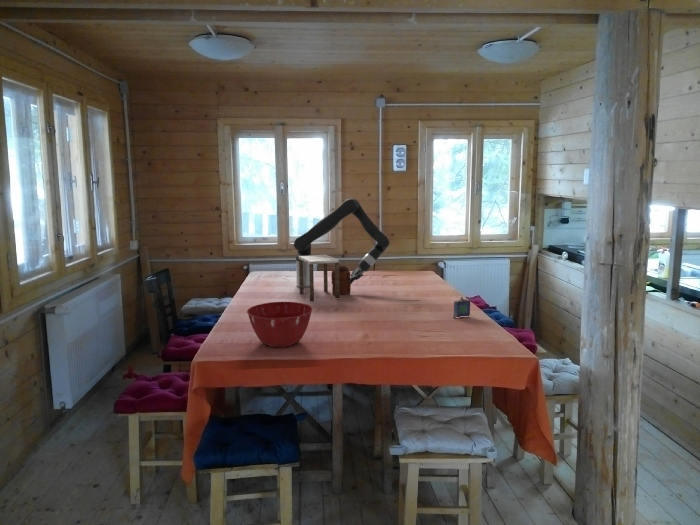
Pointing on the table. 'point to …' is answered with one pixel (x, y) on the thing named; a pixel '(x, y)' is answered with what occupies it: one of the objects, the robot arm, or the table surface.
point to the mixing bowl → (280, 322)
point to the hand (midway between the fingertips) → (348, 283)
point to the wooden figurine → (342, 280)
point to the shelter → (324, 259)
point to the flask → (462, 307)
